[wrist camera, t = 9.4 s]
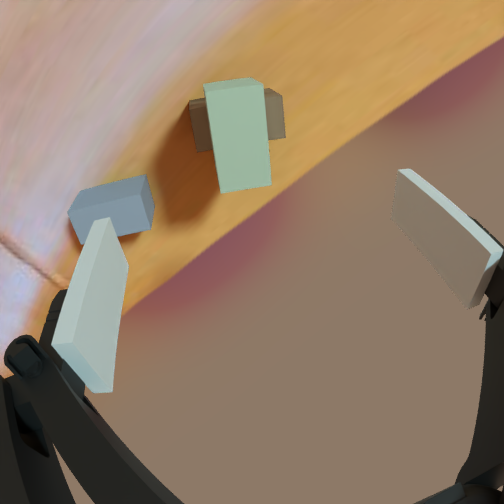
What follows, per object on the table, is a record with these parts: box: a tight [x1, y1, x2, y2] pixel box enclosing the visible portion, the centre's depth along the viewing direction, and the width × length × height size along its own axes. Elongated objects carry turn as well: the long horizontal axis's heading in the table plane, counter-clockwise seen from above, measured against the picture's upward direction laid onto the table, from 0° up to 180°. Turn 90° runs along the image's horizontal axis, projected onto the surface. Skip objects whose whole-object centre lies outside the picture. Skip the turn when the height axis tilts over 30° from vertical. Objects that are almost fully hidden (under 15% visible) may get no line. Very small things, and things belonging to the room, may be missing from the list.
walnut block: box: [189, 88, 286, 152], centre depth 28 cm, size 8×4×5 cm, turn 97°
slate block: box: [67, 174, 155, 245], centre depth 32 cm, size 8×4×5 cm, turn 96°
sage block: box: [203, 77, 272, 193], centre depth 24 cm, size 8×4×5 cm, turn 6°
